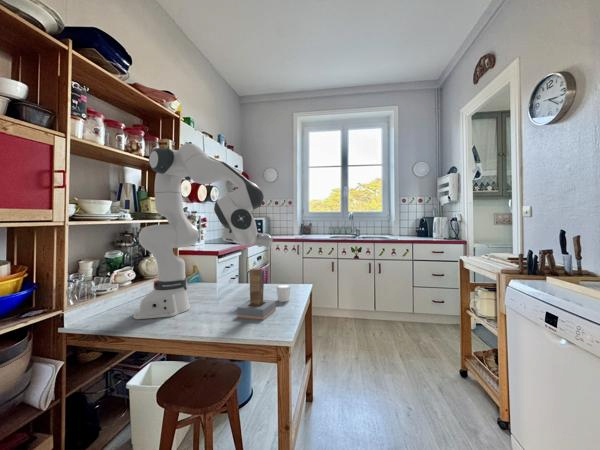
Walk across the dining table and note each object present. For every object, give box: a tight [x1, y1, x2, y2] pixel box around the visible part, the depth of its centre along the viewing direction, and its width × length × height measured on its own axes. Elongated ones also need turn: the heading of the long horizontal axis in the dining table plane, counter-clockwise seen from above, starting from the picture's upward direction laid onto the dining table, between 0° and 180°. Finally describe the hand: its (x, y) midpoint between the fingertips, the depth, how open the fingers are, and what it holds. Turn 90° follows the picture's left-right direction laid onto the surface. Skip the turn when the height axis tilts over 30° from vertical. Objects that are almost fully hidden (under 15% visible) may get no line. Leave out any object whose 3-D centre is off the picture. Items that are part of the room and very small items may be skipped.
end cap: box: [236, 299, 277, 320], centre depth 113 cm, size 12×12×4 cm
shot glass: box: [275, 284, 291, 303], centre depth 131 cm, size 7×7×7 cm
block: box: [248, 267, 264, 307], centre depth 113 cm, size 4×4×18 cm
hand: (249, 243), depth 116 cm, fingers open, 8 cm apart
